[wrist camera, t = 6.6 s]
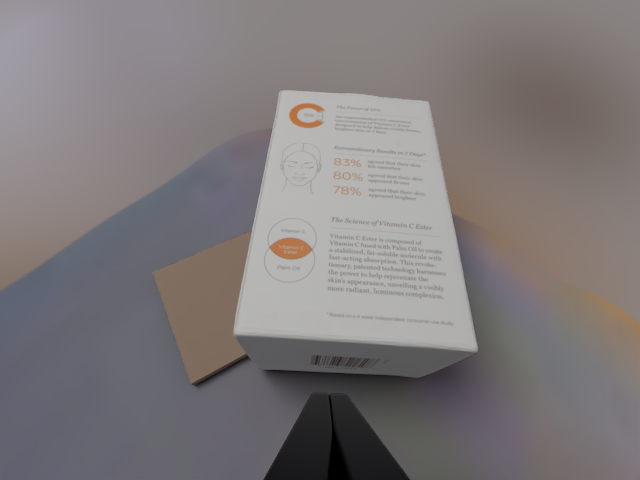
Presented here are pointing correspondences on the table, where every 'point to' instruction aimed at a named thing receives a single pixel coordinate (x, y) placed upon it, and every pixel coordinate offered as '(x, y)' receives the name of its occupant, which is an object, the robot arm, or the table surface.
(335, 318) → the small box
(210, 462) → the table surface
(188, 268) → the cork mat
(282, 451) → the robot arm
